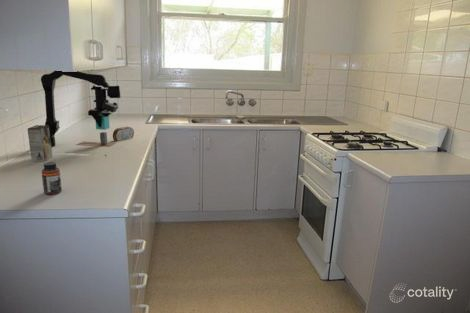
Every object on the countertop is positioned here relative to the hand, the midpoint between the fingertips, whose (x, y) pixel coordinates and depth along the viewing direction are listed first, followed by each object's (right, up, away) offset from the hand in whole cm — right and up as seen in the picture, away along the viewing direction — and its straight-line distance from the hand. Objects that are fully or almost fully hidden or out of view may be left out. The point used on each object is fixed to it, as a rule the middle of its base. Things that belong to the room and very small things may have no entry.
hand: (102, 126), depth 202 cm
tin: (+6, -8, +19) cm, 21 cm away
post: (0, -10, +3) cm, 11 cm away
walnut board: (-5, -11, +4) cm, 13 cm away
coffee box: (-21, -18, -25) cm, 37 cm away
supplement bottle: (+6, -30, -67) cm, 74 cm away
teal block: (0, -1, 0) cm, 1 cm away
